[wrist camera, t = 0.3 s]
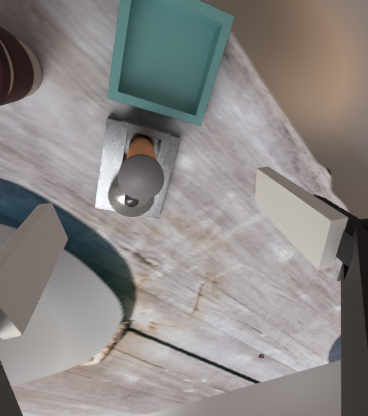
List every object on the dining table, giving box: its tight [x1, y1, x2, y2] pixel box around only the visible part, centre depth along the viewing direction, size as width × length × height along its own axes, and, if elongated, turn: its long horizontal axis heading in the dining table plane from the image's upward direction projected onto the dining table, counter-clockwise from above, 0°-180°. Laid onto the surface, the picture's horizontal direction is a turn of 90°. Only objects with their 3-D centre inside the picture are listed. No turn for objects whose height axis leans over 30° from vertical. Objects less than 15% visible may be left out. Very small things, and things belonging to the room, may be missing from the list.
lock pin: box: [118, 135, 164, 200], centre depth 31 cm, size 5×5×15 cm
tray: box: [108, 0, 234, 126], centre depth 32 cm, size 14×14×4 cm
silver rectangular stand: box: [95, 117, 181, 218], centre depth 38 cm, size 12×17×5 cm
